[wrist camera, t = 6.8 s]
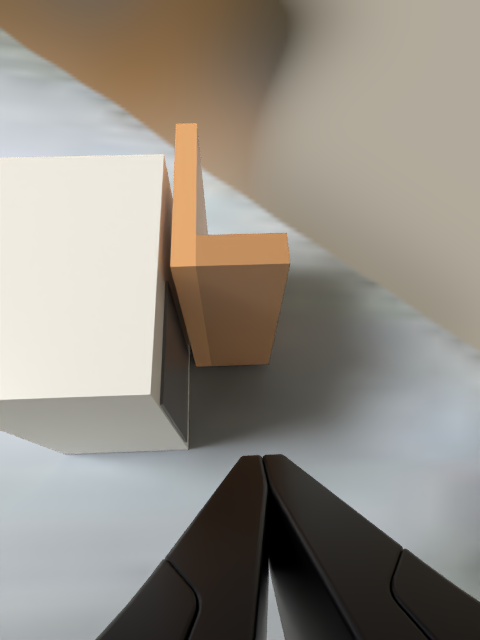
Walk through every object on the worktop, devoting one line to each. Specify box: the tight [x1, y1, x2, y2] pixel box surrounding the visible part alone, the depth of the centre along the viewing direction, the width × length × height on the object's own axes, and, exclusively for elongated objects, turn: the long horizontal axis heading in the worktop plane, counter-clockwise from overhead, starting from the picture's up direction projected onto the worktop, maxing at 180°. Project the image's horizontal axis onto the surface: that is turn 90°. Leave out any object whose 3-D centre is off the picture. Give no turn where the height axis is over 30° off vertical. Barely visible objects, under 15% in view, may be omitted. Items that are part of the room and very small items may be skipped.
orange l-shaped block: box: [170, 123, 290, 367], centre depth 19 cm, size 6×4×10 cm, turn 2°
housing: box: [0, 154, 190, 454], centre depth 18 cm, size 10×6×10 cm, turn 2°
